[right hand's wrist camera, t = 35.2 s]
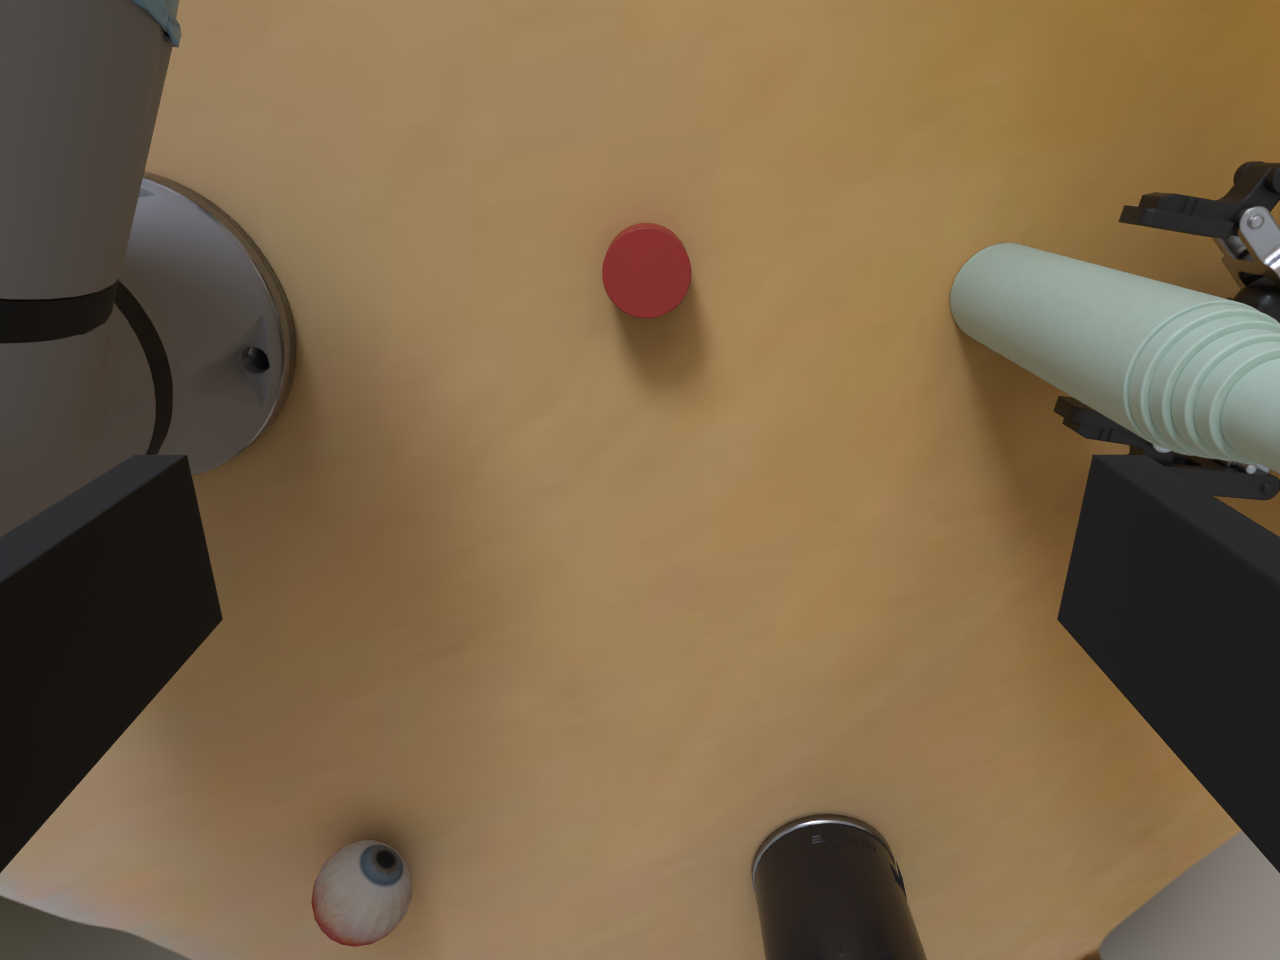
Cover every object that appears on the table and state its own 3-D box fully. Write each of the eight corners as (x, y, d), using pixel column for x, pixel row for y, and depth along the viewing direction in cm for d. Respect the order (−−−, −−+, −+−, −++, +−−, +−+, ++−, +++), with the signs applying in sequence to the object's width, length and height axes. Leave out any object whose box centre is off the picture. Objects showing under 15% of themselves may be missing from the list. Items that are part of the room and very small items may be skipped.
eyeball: (440, 841, 55) (417, 919, 50) (397, 900, 57) (370, 982, 51) (357, 802, 54) (324, 877, 48) (316, 864, 56) (280, 944, 50)
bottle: (1063, 250, 41) (1504, 361, 20) (1032, 348, 43) (1407, 545, 22) (965, 235, 41) (1308, 333, 20) (938, 335, 43) (1226, 521, 22)
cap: (678, 213, 41) (680, 218, 38) (696, 297, 42) (699, 307, 40) (595, 234, 41) (592, 239, 38) (615, 316, 42) (614, 327, 40)
